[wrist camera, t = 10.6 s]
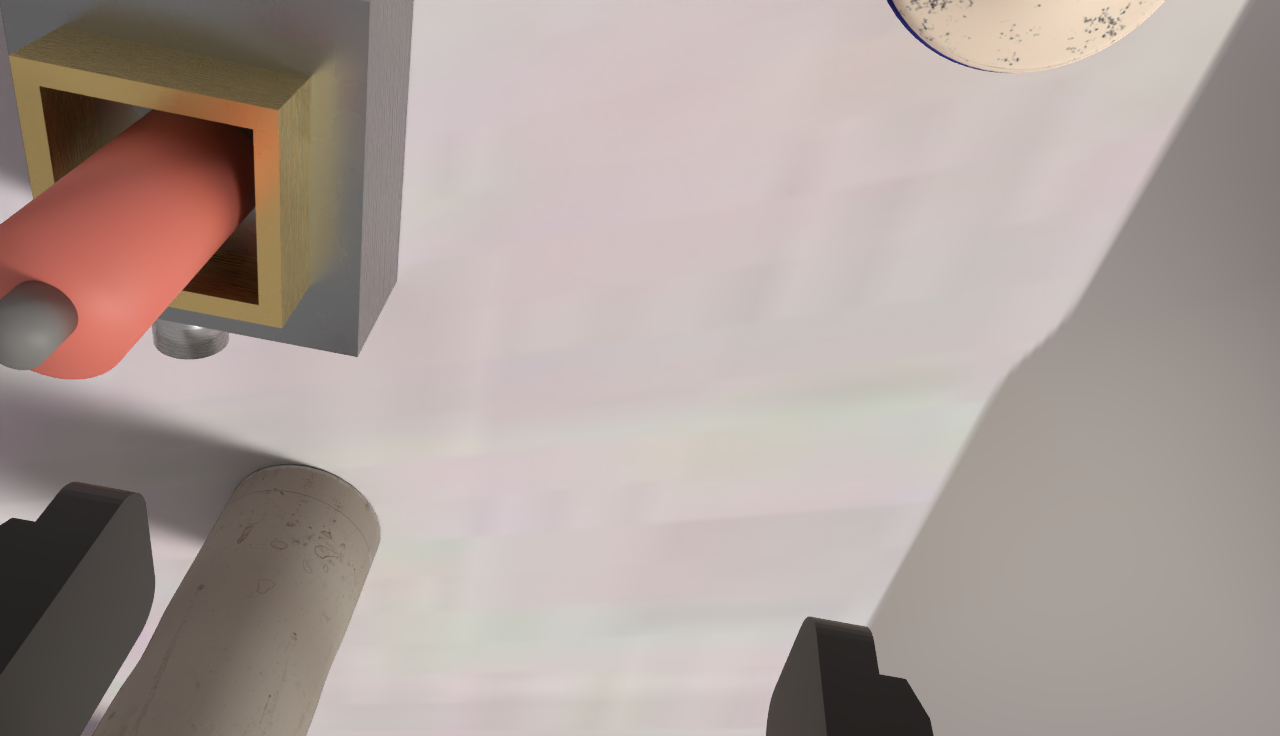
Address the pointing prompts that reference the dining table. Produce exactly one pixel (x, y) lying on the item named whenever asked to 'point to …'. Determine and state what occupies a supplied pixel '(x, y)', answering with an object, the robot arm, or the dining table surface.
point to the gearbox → (275, 124)
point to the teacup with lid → (1020, 29)
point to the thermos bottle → (255, 613)
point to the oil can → (118, 242)
